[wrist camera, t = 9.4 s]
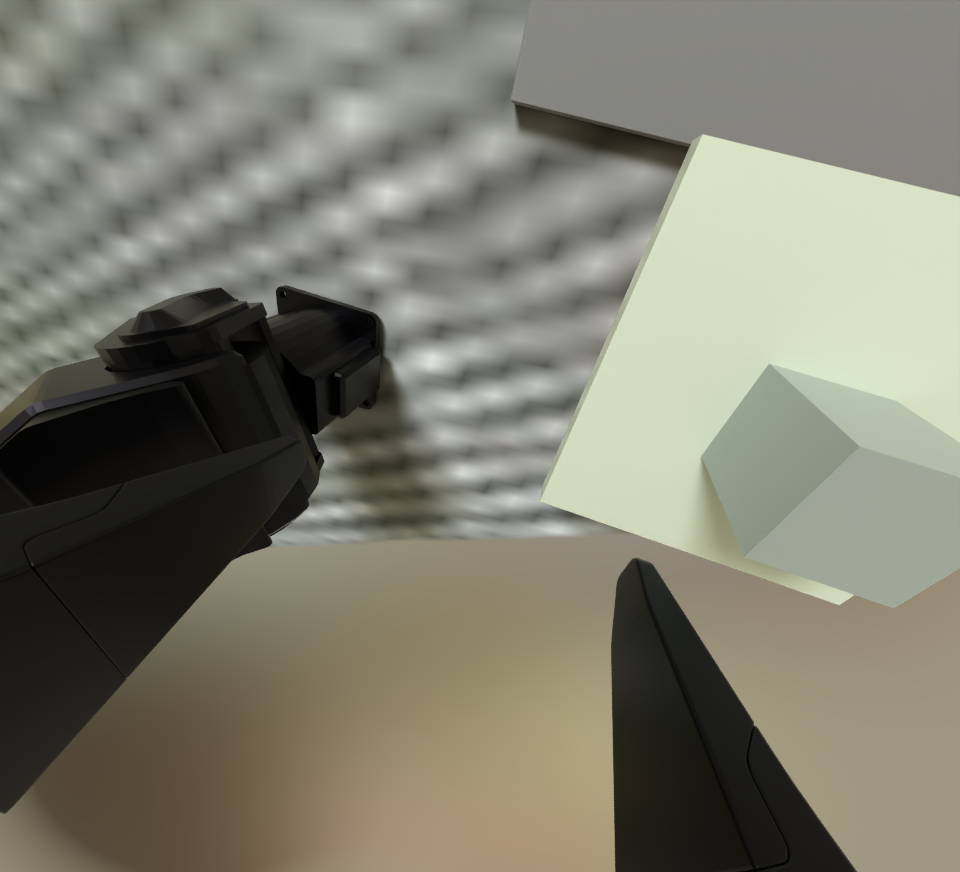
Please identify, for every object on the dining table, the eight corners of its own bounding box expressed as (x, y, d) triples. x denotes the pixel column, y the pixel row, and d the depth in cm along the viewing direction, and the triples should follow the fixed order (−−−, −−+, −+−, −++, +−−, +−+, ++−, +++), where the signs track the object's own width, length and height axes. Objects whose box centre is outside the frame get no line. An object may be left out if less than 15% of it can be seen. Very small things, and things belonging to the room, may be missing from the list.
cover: (542, 485, 19) (524, 591, 14) (692, 140, 11) (783, 84, 6) (825, 582, 17) (920, 738, 12) (1239, 274, 9) (2005, 359, 4)
